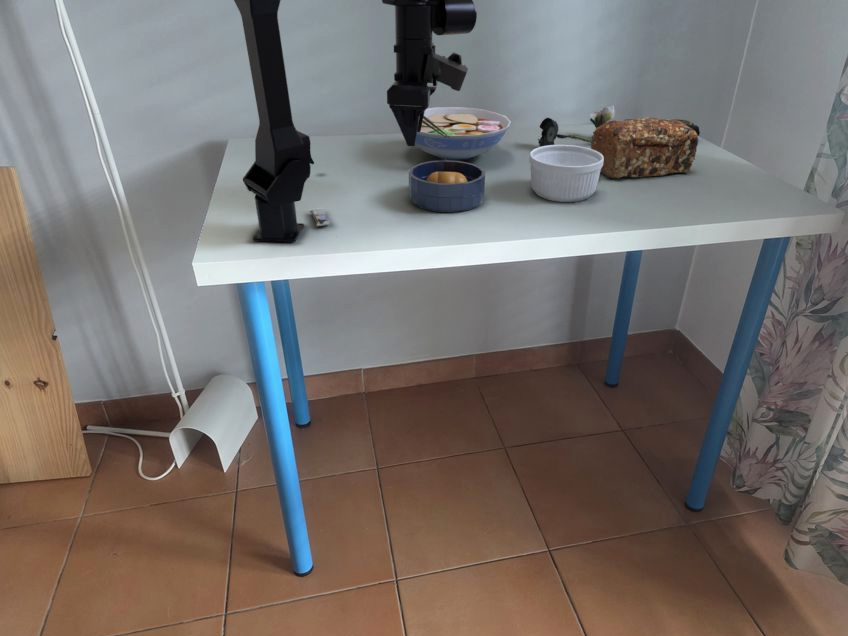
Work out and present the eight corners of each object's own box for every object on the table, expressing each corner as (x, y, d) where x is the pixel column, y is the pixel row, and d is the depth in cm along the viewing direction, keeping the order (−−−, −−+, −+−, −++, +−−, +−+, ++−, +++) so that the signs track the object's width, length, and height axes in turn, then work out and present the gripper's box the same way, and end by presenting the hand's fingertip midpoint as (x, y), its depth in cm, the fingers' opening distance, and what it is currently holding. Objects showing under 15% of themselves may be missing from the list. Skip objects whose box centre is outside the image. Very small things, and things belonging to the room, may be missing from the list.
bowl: (483, 214, 114) (484, 186, 111) (405, 211, 114) (404, 183, 111) (484, 188, 125) (485, 161, 122) (413, 185, 125) (413, 159, 122)
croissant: (470, 202, 117) (471, 177, 115) (421, 200, 117) (421, 175, 115) (471, 193, 121) (472, 169, 119) (423, 191, 121) (423, 167, 119)
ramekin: (542, 207, 117) (545, 168, 113) (516, 183, 128) (519, 146, 124) (611, 202, 120) (616, 163, 117) (580, 178, 131) (584, 142, 127)
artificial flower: (530, 149, 151) (532, 102, 148) (611, 151, 160) (614, 107, 158) (551, 149, 143) (553, 99, 141) (636, 151, 153) (639, 104, 150)
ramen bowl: (529, 168, 135) (533, 127, 131) (421, 180, 128) (421, 136, 123) (481, 136, 155) (483, 98, 150) (385, 144, 147) (384, 105, 143)
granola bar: (309, 213, 112) (308, 207, 111) (323, 212, 113) (322, 206, 112) (316, 228, 107) (316, 222, 106) (331, 226, 107) (330, 220, 107)
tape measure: (670, 143, 153) (674, 126, 151) (657, 135, 159) (660, 119, 157) (698, 142, 155) (701, 125, 153) (683, 134, 160) (687, 118, 158)
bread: (611, 181, 130) (619, 129, 124) (586, 165, 138) (592, 115, 133) (694, 174, 135) (705, 123, 130) (665, 158, 143) (674, 110, 138)
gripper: (462, 48, 96) (459, 157, 105) (468, 31, 112) (465, 127, 121) (385, 44, 97) (387, 153, 105) (402, 28, 113) (403, 124, 121)
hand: (414, 138), depth 113 cm, fingers open, 9 cm apart
